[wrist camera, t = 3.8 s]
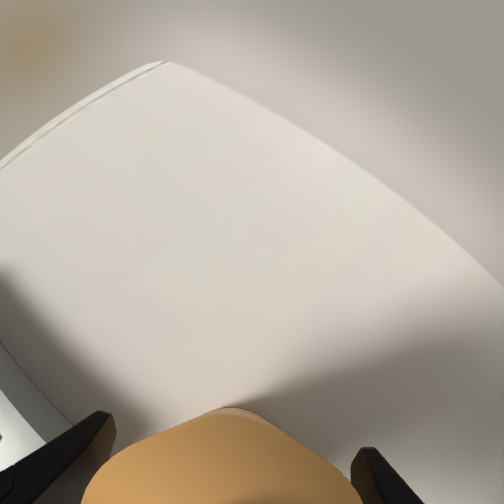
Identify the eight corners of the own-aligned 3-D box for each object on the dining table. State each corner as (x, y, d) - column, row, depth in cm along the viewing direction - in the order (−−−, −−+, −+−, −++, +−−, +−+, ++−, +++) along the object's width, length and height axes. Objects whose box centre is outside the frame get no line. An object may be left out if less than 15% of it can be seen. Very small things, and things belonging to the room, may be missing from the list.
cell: (301, 438, 14) (444, 505, 3) (246, 513, 12) (268, 680, 1) (216, 388, 15) (161, 359, 4) (162, 463, 13) (19, 559, 2)
